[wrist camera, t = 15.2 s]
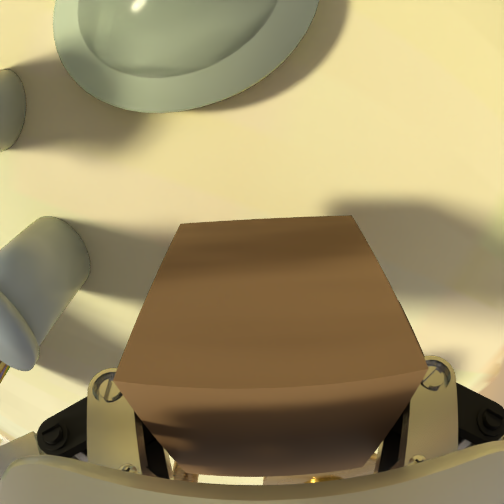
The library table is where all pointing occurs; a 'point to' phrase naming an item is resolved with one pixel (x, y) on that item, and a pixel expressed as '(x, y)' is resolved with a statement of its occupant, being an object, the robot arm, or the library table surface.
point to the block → (270, 349)
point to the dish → (175, 48)
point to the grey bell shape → (11, 108)
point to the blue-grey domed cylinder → (37, 286)
